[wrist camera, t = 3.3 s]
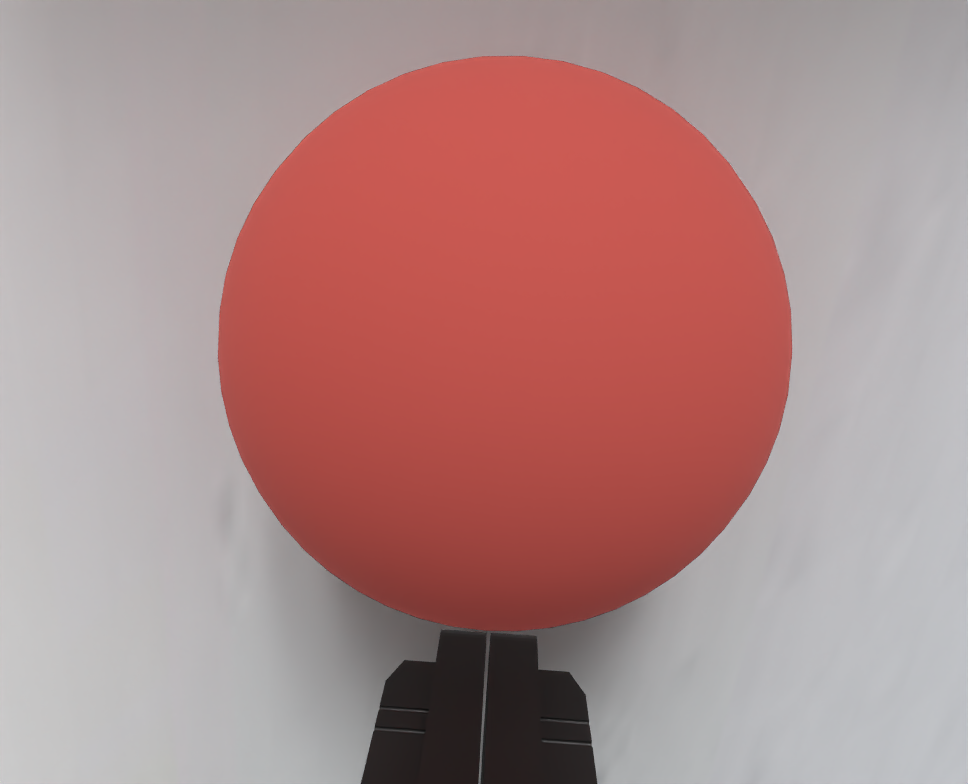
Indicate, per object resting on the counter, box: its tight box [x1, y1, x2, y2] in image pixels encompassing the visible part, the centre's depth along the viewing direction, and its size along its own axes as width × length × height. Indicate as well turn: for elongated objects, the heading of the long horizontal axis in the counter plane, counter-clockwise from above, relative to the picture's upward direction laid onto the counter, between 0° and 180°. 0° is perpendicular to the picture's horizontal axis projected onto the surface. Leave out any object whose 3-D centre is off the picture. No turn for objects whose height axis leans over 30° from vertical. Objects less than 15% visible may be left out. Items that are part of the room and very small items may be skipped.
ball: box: [218, 56, 792, 631], centre depth 9 cm, size 6×6×6 cm
